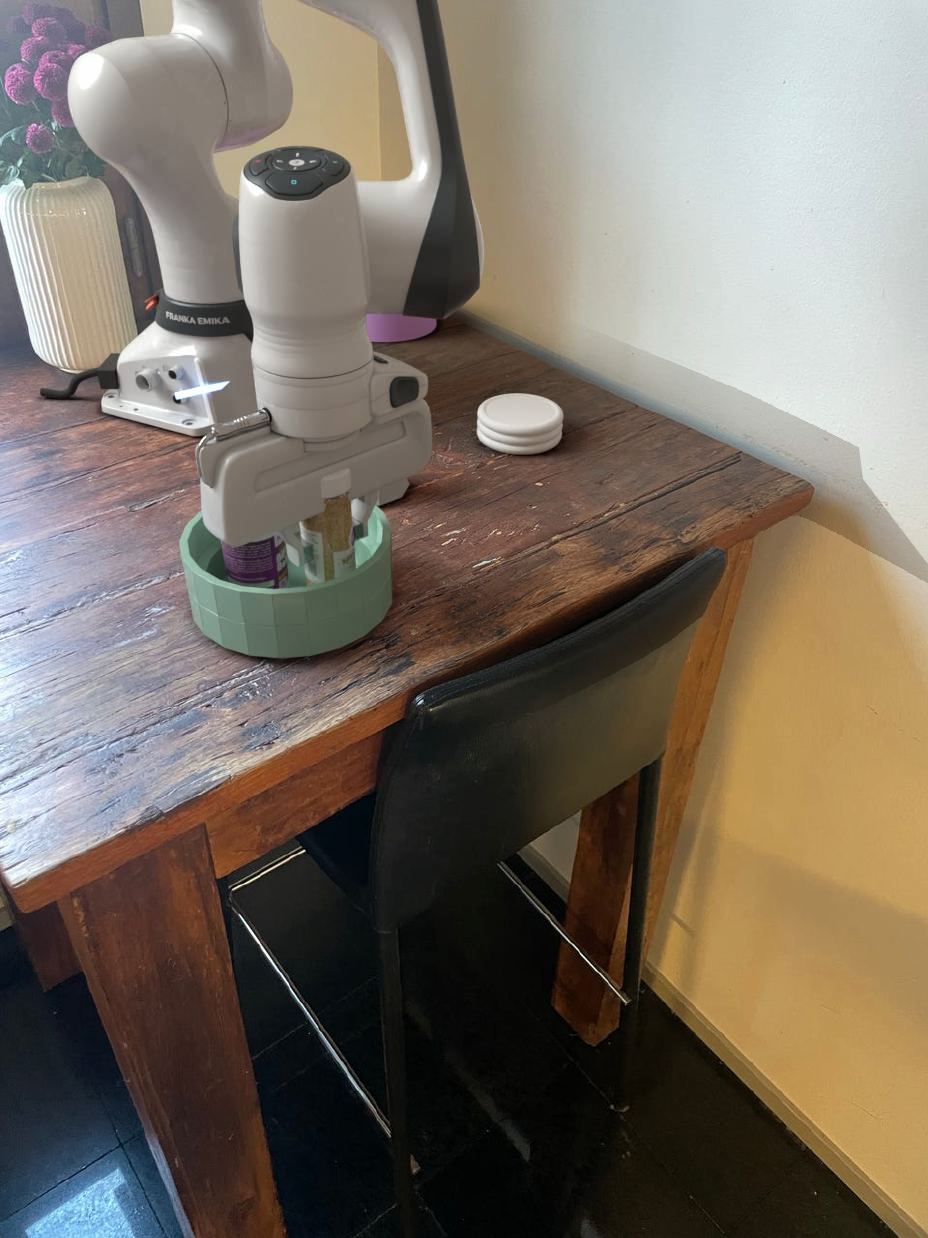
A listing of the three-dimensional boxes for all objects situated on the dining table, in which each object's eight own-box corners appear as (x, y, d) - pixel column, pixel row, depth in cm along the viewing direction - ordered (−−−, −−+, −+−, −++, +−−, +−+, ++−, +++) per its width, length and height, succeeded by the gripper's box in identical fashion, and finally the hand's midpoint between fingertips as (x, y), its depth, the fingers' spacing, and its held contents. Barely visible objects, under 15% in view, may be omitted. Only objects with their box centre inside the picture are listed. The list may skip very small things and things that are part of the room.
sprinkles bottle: (364, 612, 80) (356, 473, 72) (311, 621, 79) (297, 481, 71) (353, 583, 84) (344, 447, 76) (302, 591, 83) (288, 454, 75)
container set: (436, 307, 146) (436, 217, 138) (436, 342, 134) (436, 246, 126) (275, 305, 145) (266, 215, 137) (260, 340, 133) (249, 244, 125)
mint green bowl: (154, 642, 78) (138, 572, 73) (247, 535, 91) (238, 471, 87) (351, 681, 74) (346, 610, 70) (417, 564, 88) (417, 498, 84)
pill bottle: (296, 599, 82) (286, 503, 76) (235, 612, 80) (220, 514, 74) (282, 567, 86) (271, 473, 80) (224, 578, 84) (208, 483, 78)
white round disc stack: (488, 414, 115) (489, 386, 113) (568, 425, 113) (571, 397, 110) (466, 449, 107) (467, 420, 105) (552, 461, 105) (554, 433, 103)
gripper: (216, 448, 62) (242, 614, 71) (444, 371, 74) (443, 522, 82) (169, 417, 66) (199, 579, 74) (393, 348, 77) (397, 495, 86)
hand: (329, 548), depth 78 cm, fingers closed on sprinkles bottle, 4 cm apart
